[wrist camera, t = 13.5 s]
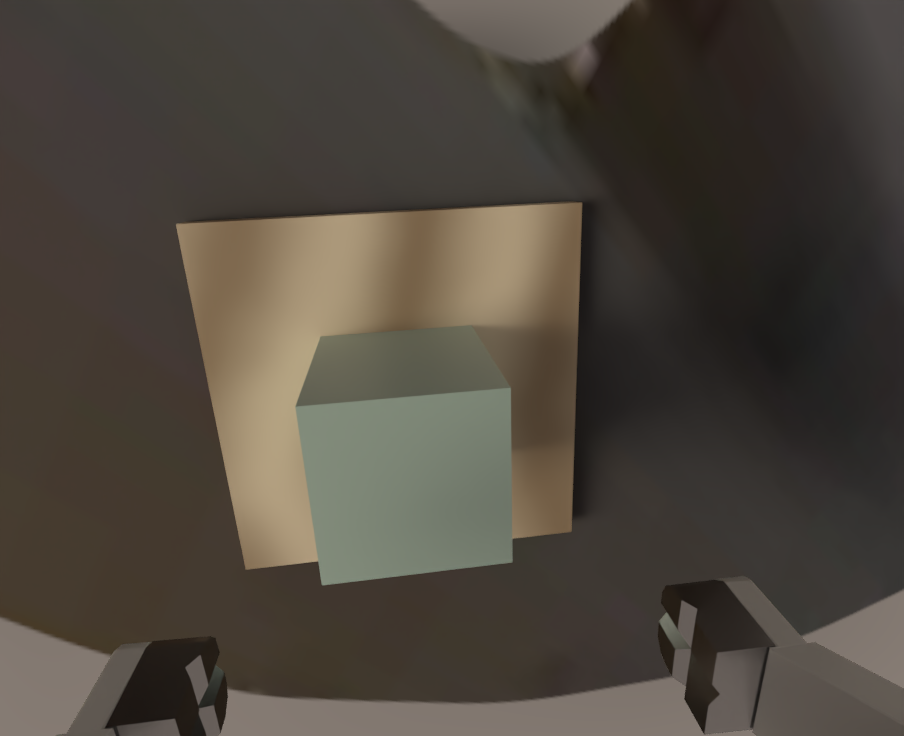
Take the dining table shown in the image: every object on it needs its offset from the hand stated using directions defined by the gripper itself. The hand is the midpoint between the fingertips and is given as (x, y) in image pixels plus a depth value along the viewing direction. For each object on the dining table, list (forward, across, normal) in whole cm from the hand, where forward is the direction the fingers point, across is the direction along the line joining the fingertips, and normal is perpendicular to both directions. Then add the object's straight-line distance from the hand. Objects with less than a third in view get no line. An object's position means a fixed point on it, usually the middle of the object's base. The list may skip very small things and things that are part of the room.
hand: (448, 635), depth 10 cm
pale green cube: (+12, +1, 0) cm, 12 cm away
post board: (+13, +1, 0) cm, 13 cm away
